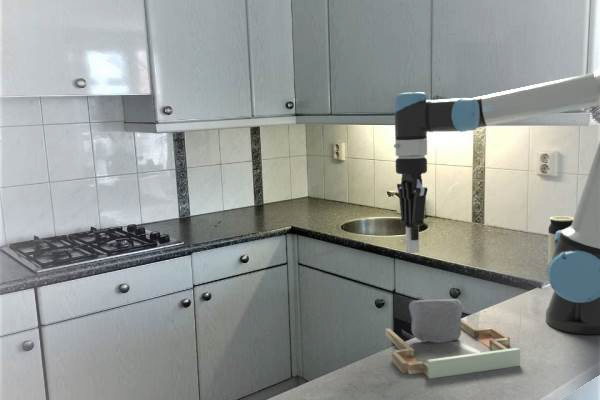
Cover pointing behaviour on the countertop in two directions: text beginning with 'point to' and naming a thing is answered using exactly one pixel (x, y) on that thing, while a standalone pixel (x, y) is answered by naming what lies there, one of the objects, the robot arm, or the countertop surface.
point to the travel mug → (555, 226)
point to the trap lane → (461, 363)
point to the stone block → (436, 319)
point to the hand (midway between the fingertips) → (412, 252)
